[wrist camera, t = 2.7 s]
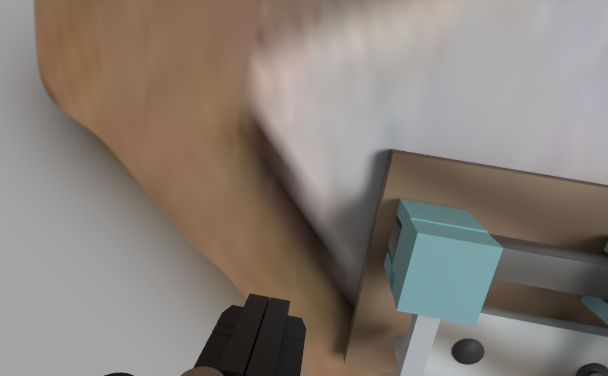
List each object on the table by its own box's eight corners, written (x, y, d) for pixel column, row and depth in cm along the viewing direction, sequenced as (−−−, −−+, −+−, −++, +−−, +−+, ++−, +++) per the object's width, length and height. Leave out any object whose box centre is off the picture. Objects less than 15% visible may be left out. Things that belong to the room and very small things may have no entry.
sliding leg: (400, 198, 21) (418, 230, 16) (466, 210, 21) (504, 246, 16) (367, 332, 24) (374, 392, 19) (424, 343, 23) (445, 407, 19)
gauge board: (390, 149, 21) (399, 158, 18) (687, 198, 20) (749, 217, 17) (343, 352, 26) (344, 387, 23) (584, 400, 25) (618, 444, 22)
